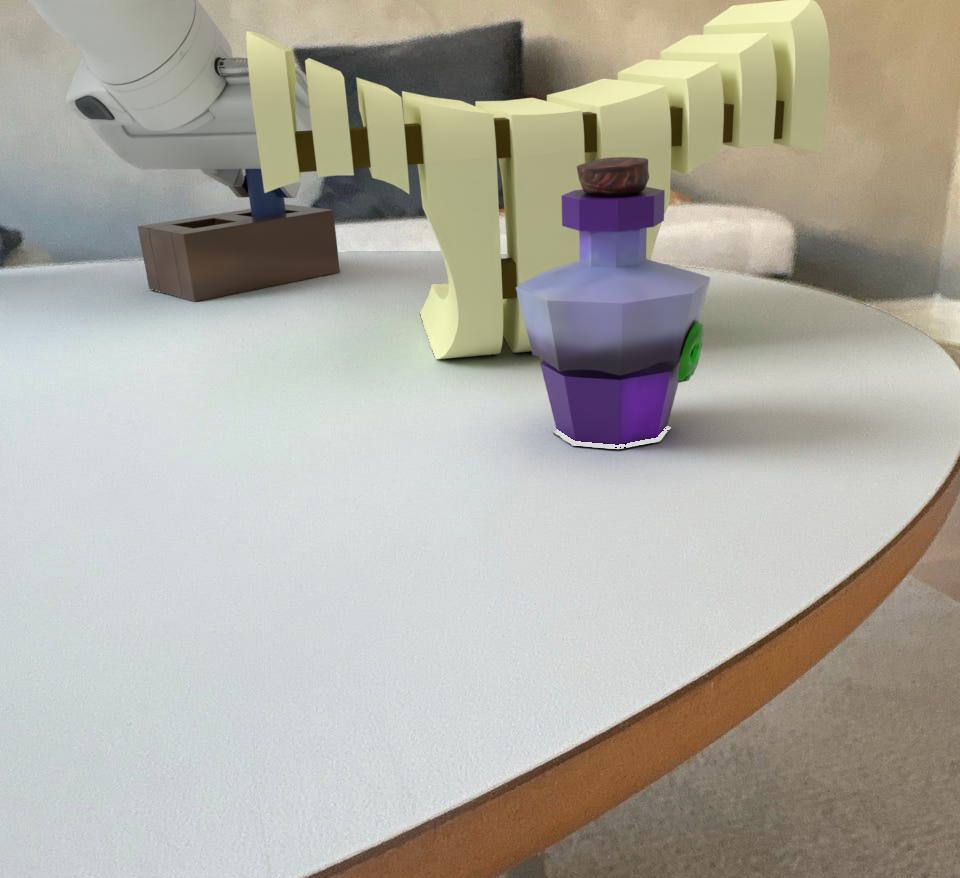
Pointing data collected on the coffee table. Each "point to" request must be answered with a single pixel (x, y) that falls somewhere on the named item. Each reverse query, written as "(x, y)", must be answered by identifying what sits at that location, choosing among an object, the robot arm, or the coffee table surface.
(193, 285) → the holder
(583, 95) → the slatted curved stool
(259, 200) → the handle
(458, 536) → the coffee table surface
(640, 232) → the potion bottle
